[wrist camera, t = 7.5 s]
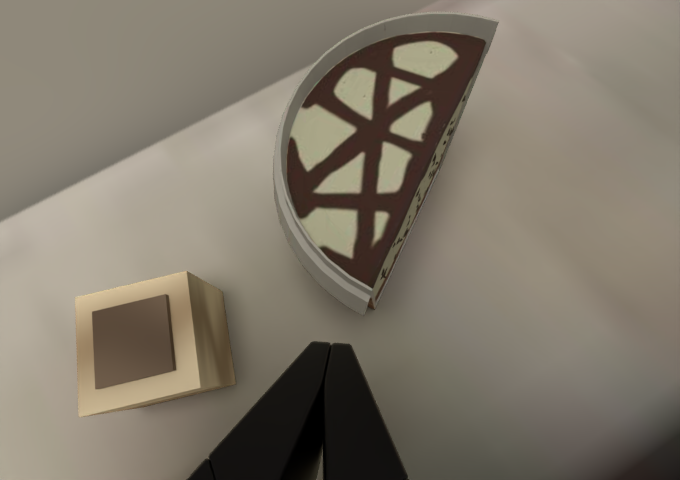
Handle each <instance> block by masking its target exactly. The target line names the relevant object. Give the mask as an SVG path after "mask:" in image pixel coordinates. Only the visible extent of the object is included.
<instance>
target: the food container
mask: <svg viewBox="0 0 680 480" xmlns="http://www.w3.org/2000/svg"><path fill="white" fill-rule="evenodd" d="M498 23H499V20H495V19H491V18H487V17H483V16H479V15H473V14H466V13H458V12H424V13H415V14H407V15H402V16H399V17H394V18H390V19H386V20H383V21H380V22H378V23H375V24H372V25H370V26H367V27H365V28H362V29H361V30H359V31H357V32H355V33H353V34H351V35H350V36H348V37H346V38H344V39H343V40H341V41H340V42H339V43H337V44H336V45H335V46H333V47H332V48H331V49H329V50H328V51H327V52H326V53H324V54H323V55H322V56H321V57H320V58H319V59H318V60H317V61H316V62H315V63H314V64H313V65H312V66H311V67H310V69H309V70H308V71H307V73H306V74H305V75H304V77H303V78H302V80H301V81H300V82H299V84H298V85H297V87H296V89H295V91H294V93H293V95H292V97H291V99H290V101H289V103H288V105H287V107H286V109H285V111H284V113H283V116H282V119H281V122H280V125H279V129H278V132H277V135H276V143H275V150H274V159H273V180H274V198H275V203H276V208H277V212H278V216H279V221H280V224H281V226H282V228H283V231H284V233H285V236H286V238H287V240H288V243H289V245H290V247H291V248H292V250H293V251H294V253H295V254H296V256H297V258H298V259H299V261H300V262H301V264H302V265H303V267H304V268H305V269H306V270H307V271H308V272H309V273H310V275H311V276H312V277H313V278H314V279H315V280H316V281H317V282H318V284H319V285H320V286H321V287H323V288H324V289H325V290H326V291H328V292H329V293H330V294H331V295H332V296H334V297H335V298H336V299H337V300H339V301H340V302H341V303H342V304H344V305H346V306H348V307H349V308H351V309H353V310H354V311H356V312H358V313H360V314H361V315H363V316H364V314H365V312H366V309H367V306H368V307H370V308H372V309H374V310H375V308H376V306H377V304H378V302H379V300H380V298H381V295H382V293H383V291H384V289H385V287H386V285H387V282H388V280H389V278H390V276H391V274H392V272H393V270H394V267H395V265H396V263H397V261H398V259H399V257H400V254H401V252H402V250H403V248H404V246H405V244H406V242H407V239H408V237H409V235H410V233H411V231H412V229H413V226H414V224H415V222H416V220H417V218H418V216H419V213H420V211H421V209H422V207H423V205H424V203H425V201H426V198H427V196H428V194H429V192H430V190H431V188H432V185H433V183H434V181H435V179H436V177H437V175H438V173H439V170H440V168H441V166H442V163H443V161H444V158H445V156H446V153H447V151H448V148H449V146H450V143H451V141H452V138H453V136H454V133H455V131H456V128H457V126H458V123H459V121H460V118H461V116H462V113H463V111H464V108H465V106H466V103H467V101H468V98H469V96H470V93H471V91H472V88H473V86H474V83H475V81H476V78H477V76H478V73H479V71H480V68H481V66H482V63H483V61H484V58H485V56H486V54H487V52H488V50H489V47H490V45H491V42H492V39H493V37H494V34H495V32H496V28H497V25H498Z"/></svg>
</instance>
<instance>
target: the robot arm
mask: <svg viewBox="0 0 680 480" xmlns="http://www.w3.org/2000/svg"><path fill="white" fill-rule="evenodd" d="M322 449H323V480H409V479H407V478H408V475H407V473H406V471H405V468H404V466H403V464H402V461H401V459H400V457H399V454H398V452H397V450H396V447H395V445H394V443H393V440H392V438H391V436H390V433H389V431H388V429H387V427H386V424H385V422H384V420H383V417H382V415H381V413H380V410H379V408H378V406H377V403H376V401H375V399H374V396H373V394H372V392H371V389H370V387H369V385H368V383H367V380H366V378H365V376H364V373H363V371H362V369H361V366H360V364H359V362H358V359H357V357H356V355H355V352H354V350H353V348H352V346H351V345H350V344H343V343H333V344H332V345H331V344H330V343H328V342H317V341H313V342H311V343H310V344H309V345H308V346H307V347H306V348H305V350H304V351H303V352H302V353H301V354H300V355H299V356H298V357H297V358H296V359H295V361H294V362H293V363H292V364H291V365H290V366H289V367H288V368H287V369H286V371H285V372H284V373H283V374H282V375H281V376H280V377H279V378H278V379H277V381H276V382H275V383H274V384H273V385H272V386H271V387H270V388H269V389H268V390H267V392H266V393H265V394H264V395H263V396H262V397H261V398H260V399H259V400H258V402H257V403H256V404H255V405H254V406H253V407H252V408H251V409H250V410H249V412H248V413H247V414H246V415H245V416H244V417H243V418H242V419H241V420H240V421H239V423H238V424H237V425H236V426H235V427H234V428H233V429H232V430H231V431H230V433H229V434H228V435H227V436H226V437H225V438H224V439H223V440H222V441H221V442H220V444H219V445H218V446H217V447H216V448H215V449H214V450H213V451H212V452H211V454H210V455H209V456H208V458H209V459H205V460H204V461H203V462H202V463H201V464H200V465H199V467H198V468H197V469H196V470H195V471H194V472H193V473H192V474H191V475H190V476H189V478H188V479H187V480H316V477H317V473H318V469H319V464H320V460H321V455H322Z"/></svg>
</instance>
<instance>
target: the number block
mask: <svg viewBox="0 0 680 480" xmlns="http://www.w3.org/2000/svg"><path fill="white" fill-rule="evenodd" d="M75 312H76V344H77V377H78V410H79V417H85V416H91V415H98V414H104V413H110V412H116V411H122V410H129V409H135V408H141V407H145V406H149V405H153V404H157V403H161V402H166V401H170V400H174V399H178V398H182V397H186V396H190V395H194V394H198V393H202V392H206V391H210V390H214V389H219V388H223V387H227V386H231V385H235V384H236V381H235V375H234V368H233V361H232V354H231V347H230V340H229V333H228V326H227V319H226V312H225V306H224V299H223V292H222V291H221V290H219V289H217V288H215V287H214V286H212V285H210V284H209V283H207V282H205V281H203V280H202V279H200V278H198V277H196V276H195V275H193V274H191V273H189V272H188V271H184V272H180V273H175V274H171V275H167V276H163V277H159V278H154V279H150V280H146V281H142V282H138V283H134V284H129V285H125V286H121V287H117V288H113V289H108V290H104V291H100V292H96V293H92V294H87V295H83V296H79V297H75Z"/></svg>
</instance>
